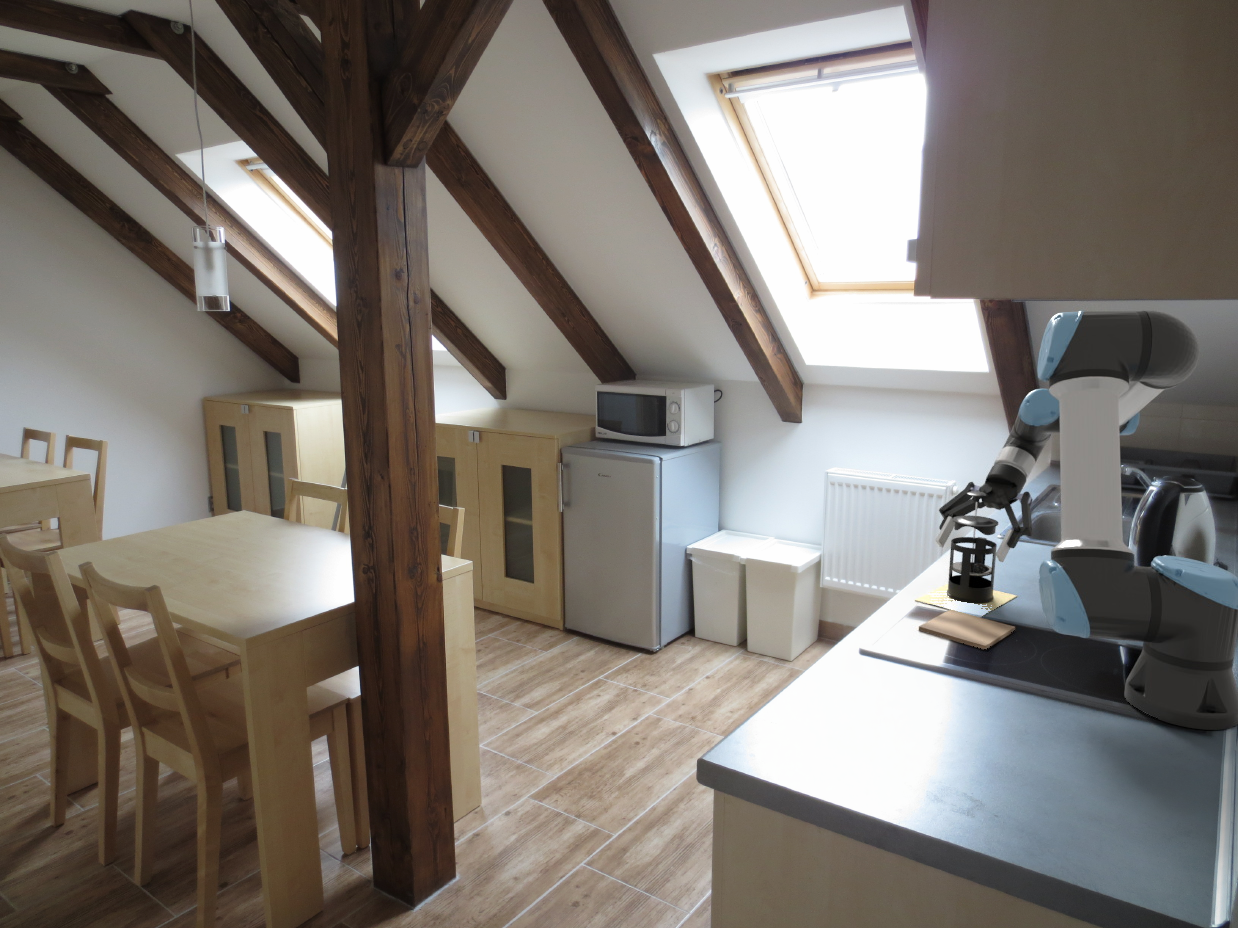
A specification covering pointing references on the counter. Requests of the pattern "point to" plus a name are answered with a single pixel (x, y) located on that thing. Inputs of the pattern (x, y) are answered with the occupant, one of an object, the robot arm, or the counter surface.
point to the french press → (971, 579)
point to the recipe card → (998, 600)
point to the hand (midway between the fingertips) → (968, 551)
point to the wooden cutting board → (967, 629)
